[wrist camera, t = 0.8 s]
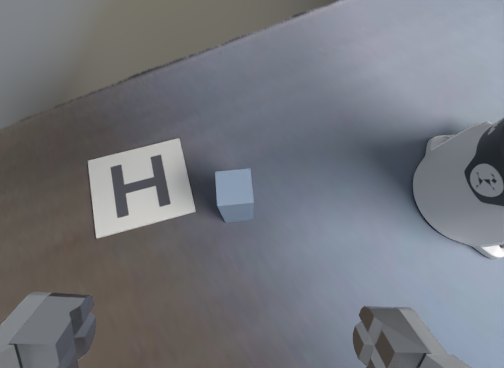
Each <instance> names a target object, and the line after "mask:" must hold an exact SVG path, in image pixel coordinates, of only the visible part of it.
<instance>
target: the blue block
mask: <svg viewBox="0 0 504 368" xmlns="http://www.w3.org/2000/svg"><path fill="white" fill-rule="evenodd" d="M215 179H216V195H217V207H218V209H219V211H220V213H221V215H222V217H223V219H224V221H225V222H235V221H245V220H253V217H254V198H253V189H252V179H251V170H250V168H249V169H238V170H228V171H217V172H215Z"/></svg>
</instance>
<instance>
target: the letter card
mask: <svg viewBox="0 0 504 368" xmlns="http://www.w3.org/2000/svg"><path fill="white" fill-rule="evenodd" d="M88 168H89V177H90V186H91V195H92V205H93V214H94V223H95V232H96V238H97V239H98V238H102V237H105V236H109V235H113V234H116V233H120V232H124V231H127V230H131V229H135V228H138V227H142V226H146V225H150V224H153V223H157V222H161V221H164V220H168V219H172V218H175V217H179V216H183V215H186V214H190V213H194V212H196V209H195V205H194V200H193V196H192V191H191V187H190V183H189V178H188V174H187V169H186V165H185V160H184V156H183V151H182V147H181V142H180V139H179V138H178V139H173V140H169V141H165V142H161V143H157V144H153V145H149V146H145V147H141V148H137V149H133V150H129V151H125V152H121V153H117V154H113V155H109V156H105V157H101V158H97V159H93V160H88Z"/></svg>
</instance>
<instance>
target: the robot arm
mask: <svg viewBox="0 0 504 368" xmlns="http://www.w3.org/2000/svg"><path fill="white" fill-rule="evenodd" d="M413 193H414V198H415V201H416V204H417V206H418V208H419V210H420V212H421V213H422V215H423V216H424V218H425V219H426V220H427V221H428V223H429V224H430V225H431V226H432V227H434V228H435V229H436V230H437V231H438V232H440V233H441V234H443V235H444V236H446V237H448V238H450V239H452V240H455V241H458V242H461V243H464V244H467V245H470V246H472V247H474V248H475V249H476V250H478V251H479V252H480V253H482V254H483V255H485V256H486V257H488V258H491V259H497V258H501V257H503V256H504V118H503V119H501V120H500V121H498V122H497V123H495V124H492V122H491V121H489V122H485V123H482V124H480V125H479V124H474V125H471V126H469V127H468V128H466V129H464V130H463V131H461V132H459V133H458V134H455V135H440V136H435V137H433V138H431V139H430V140H429V141H428V143H427V147H426V155H425V157H424V158H423V160H422V161H421V163H420V164H419V165H418V167H417V169H416V171H415V174H414V178H413ZM499 245H501V247H500V246H499ZM93 306H94V302H93V296H90V295H80V294H65V293H44V292H33V293H31V294H29V295H27V296H26V297H25V298H24V300H23V301H22V302H21V303H20V304H19V305H18V306H17V307H16V308H15V309H14V310H13V312H12V313H11V314H10V315H9V316H8V317H7V318H6V319H5V320H4V321H3V323H2V324H1V325H0V368H78V360H79V359H80V358H82V357H83V356H84V355H86V354H87V352H88V350H89V348H90V346H91V344H92V341H93V338H94V334H95V329H96V319H95V316H94V315H93V314H92V313H91V310H92V308H93ZM359 317H360V319H361V320H362V321H361V322H359V323H358V324H357V325H356V326H355V328H354V332H353V345H354V349H355V352H356V354H357V357H358V359H359V360H360V361H361V362H362V363H363V364H365V365H366V368H472V367H470V366H469V365H467V364H466V363H464V362H463V361H462V360H460V359H459V358H457V357H456V356H454V355H449V354H448V353H447V352H446V351H445V350H444V348H443V347H442V346H441V344H440V343H439V342H438V340H437V339H436V338H435V337H434V335H433V334H432V333H431V331H430V330H429V329H428V327H427V326H426V325H425V323H424V322H423V321H422V320H421V318H420V317H419V316H418V314H417V313H416V312H415V311H414V310H413V309H411V308H410V307H375V306H364V307H363V308H362V309H361V311H360V314H359Z"/></svg>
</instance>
